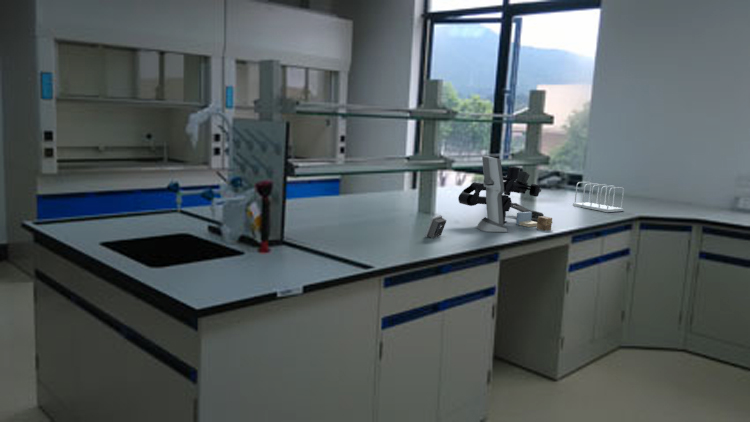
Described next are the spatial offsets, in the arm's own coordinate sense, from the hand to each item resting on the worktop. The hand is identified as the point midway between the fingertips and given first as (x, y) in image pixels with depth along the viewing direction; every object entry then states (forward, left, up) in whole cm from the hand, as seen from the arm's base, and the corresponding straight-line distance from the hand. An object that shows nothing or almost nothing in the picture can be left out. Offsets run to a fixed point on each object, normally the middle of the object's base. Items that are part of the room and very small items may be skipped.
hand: (534, 188), depth 322 cm
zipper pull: (-2, +2, -17) cm, 17 cm away
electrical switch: (-83, -9, -17) cm, 85 cm away
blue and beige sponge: (-16, -10, -17) cm, 25 cm away
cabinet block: (-17, -20, -17) cm, 31 cm away
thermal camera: (-45, -10, -17) cm, 49 cm away
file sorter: (+79, +6, -17) cm, 81 cm away
